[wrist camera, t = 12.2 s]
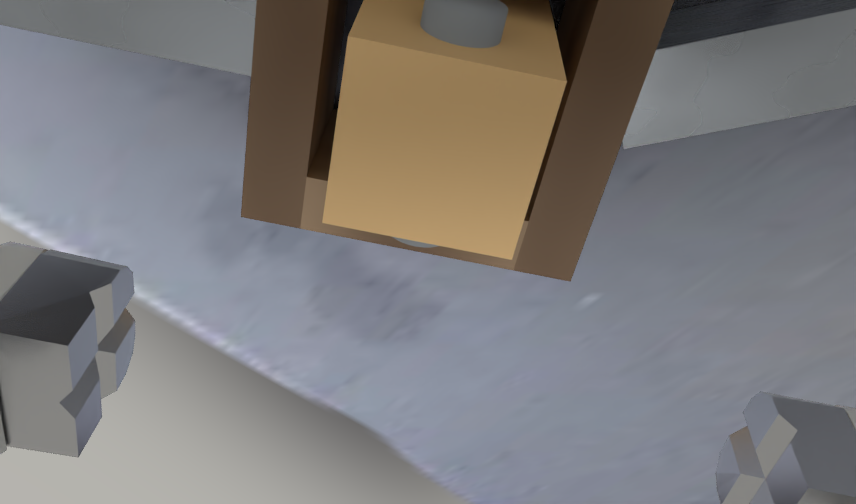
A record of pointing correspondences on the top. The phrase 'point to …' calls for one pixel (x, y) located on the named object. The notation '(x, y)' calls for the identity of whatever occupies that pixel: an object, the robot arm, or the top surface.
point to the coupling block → (444, 121)
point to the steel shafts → (661, 92)
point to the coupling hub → (563, 160)
